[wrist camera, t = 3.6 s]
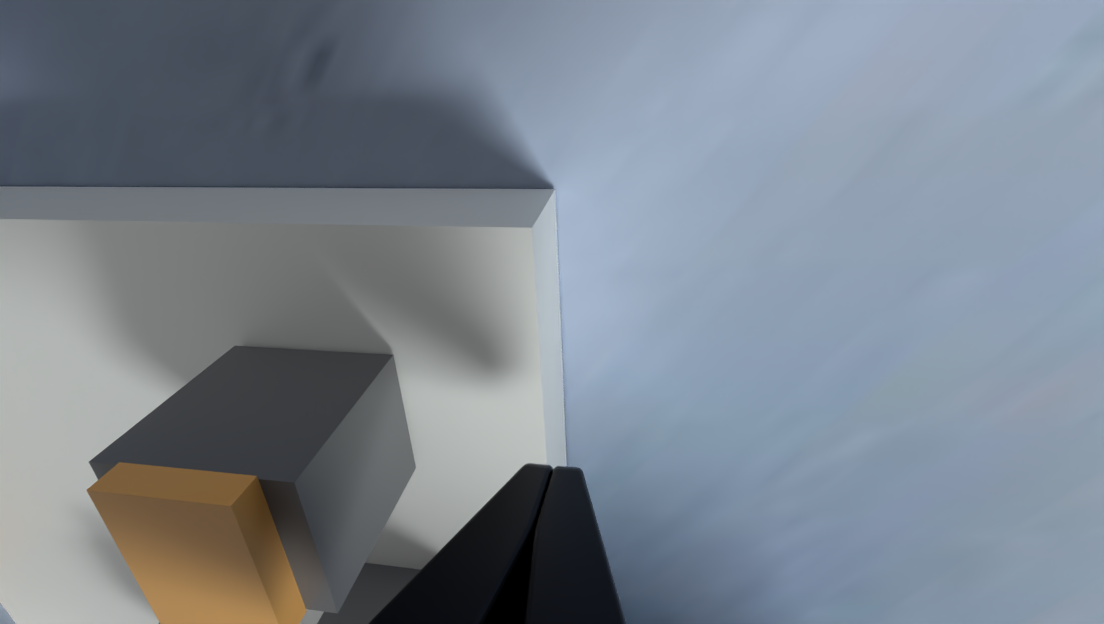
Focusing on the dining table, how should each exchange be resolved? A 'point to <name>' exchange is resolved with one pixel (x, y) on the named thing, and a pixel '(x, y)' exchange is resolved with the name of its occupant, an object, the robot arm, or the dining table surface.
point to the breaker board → (274, 322)
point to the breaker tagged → (258, 485)
